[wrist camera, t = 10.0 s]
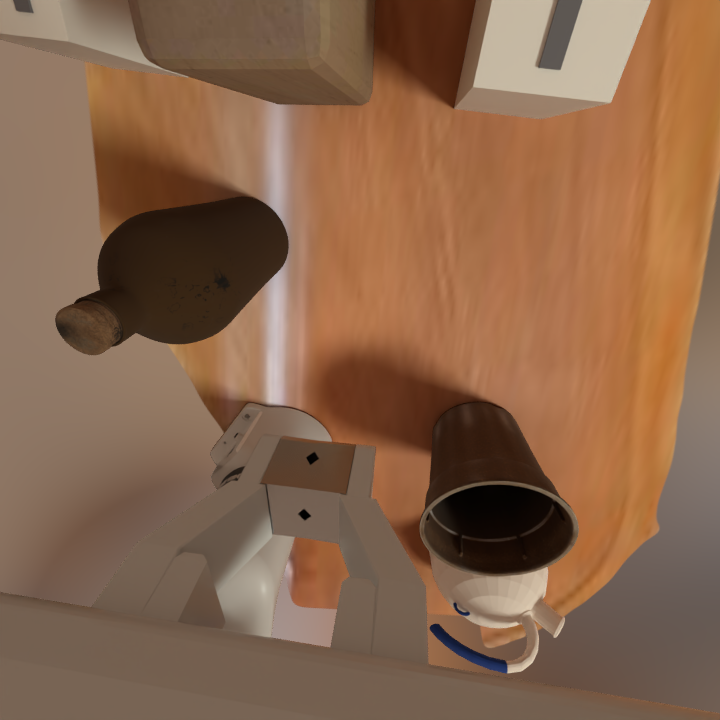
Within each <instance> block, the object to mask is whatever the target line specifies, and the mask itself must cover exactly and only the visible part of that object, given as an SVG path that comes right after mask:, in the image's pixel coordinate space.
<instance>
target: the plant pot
mask: <svg viewBox="0 0 720 720" xmlns="http://www.w3.org/2000/svg"><path fill="white" fill-rule="evenodd" d="M578 532H579V528H578V521H577V518H576V516H575V514H574V512H573V510H572V509H571V508H570V506H569V505H568V504H567V503H566V502H565V501H564V500H563V499H562V498H561V497H560V496H559V494H558V492H557V491H556V489H555V487H554V485H553V484H552V482H551V481H550V480H549V479H548V478H547V477H546V476H545V475H544V473H543V471H542V469H541V467H540V466H539V464H538V462H537V460H536V458H535V457H534V455H533V453H532V451H531V449H530V447H529V445H528V443H527V442H526V440H525V438H524V436H523V434H522V432H521V430H520V428H519V426H518V424H517V422H516V421H515V419H514V418H513V417H512V415H511V414H510V413H509V412H507V411H506V410H505V409H503V408H498V407H495V406H493V405H491V404H489V403H483V402H473V403H466V404H462V405H459V406H456V407H454V408H452V409H450V410H448V411H447V412H445V413H444V414H443V415H442V416H441V417H440V419H439V421H438V422H437V424H436V425H435V426H434V429H433V435H432V455H431V470H430V484H429V489H428V491H427V495H426V502H425V510H424V512H423V514H422V516H421V520H420V536H421V539H422V541H423V543H424V545H425V546H426V548H427V549H428V550H429V551H430V552H431V553H432V554H433V555H434V556H435V557H436V558H437V559H439V560H440V561H442V562H443V563H445V564H447V565H449V566H451V567H453V568H455V569H458V570H460V571H463V572H467V573H471V574H475V575H481V576H493V577H503V576H514V575H523V574H527V573H532V572H536V571H538V570H541V569H544V568H546V567H548V566H550V565H552V564H554V563H556V562H557V561H559V560H560V559H561V558H563V557H564V556H565V555H566V554H567V553H568V552H569V551H570V550H571V549H572V547H573V546H574V544H575V542H576V540H577V537H578Z"/></svg>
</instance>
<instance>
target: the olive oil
mask: <svg viewBox="0 0 720 720" xmlns="http://www.w3.org/2000/svg"><path fill="white" fill-rule="evenodd" d="M287 254H288V236H287V233H286V230H285V227H284V225H283V223H282V221H281V219H280V218H279V217H278V215H277V214H276V213H275V212H274V211H273V210H272V209H271V208H270V207H269V206H267V205H266V204H264V203H263V202H261V201H259V200H256V199H253V198H249V197H236V198H230V199H225V200H220V201H215V202H209V203H203V204H197V205H190V206H184V207H177V208H169V209H162V210H155V211H149V212H145V213H141V214H139V215H136V216H134V217H132V218H130V219H128V220H126V221H125V222H124V223H122V224H121V225H120V226H119V227H117V228H116V229H115V230H114V231H113V232H112V233H111V234H110V235H109V237H108V238H107V239H106V241H105V242H104V244H103V246H102V249H101V251H100V255H99V259H98V280H99V286H100V290H99V291H96V292H94V293H91V294H89V295H87V296H84V297H81V298H79V299H77V300H76V301H75V303H74V304H72V305H69V306H67V307H64V308H63V309H61V310H60V311H59V312H58V313H57V315H56V318H55V321H56V327H57V329H58V331H59V333H60V335H61V336H62V338H63V339H64V340H65V341H66V342H67V343H68V344H69V345H70V346H72V347H73V348H74V349H76V350H78V351H80V352H82V353H84V354H88V355H98V354H101V353H103V352H105V351H106V350H108V349H109V348H110V347H112V346H117V345H119V344H121V343H122V342H123V341H125V340H126V339H128V338H129V337H131V336H132V335H133V334H135V333H138V334H140V335H142V336H144V337H147V338H149V339H152V340H155V341H158V342H162V343H168V344H188V343H193V342H197V341H200V340H204V339H206V338H209V337H211V336H213V335H215V334H217V333H219V332H220V331H221V330H223V329H224V328H225V327H226V326H227V325H228V324H229V323H230V322H231V321H232V320H233V319H234V318H235V317H236V316H237V314H238V313H239V312H240V311H241V310H242V309H243V308H244V307H245V305H246V304H247V303H248V302H249V301H250V300H251V299H252V298H253V297H254V296H255V295H256V294H257V292H258V291H259V290H260V289H261V288H262V287H263V286H264V285H265V284H266V283H267V282H268V281H269V280H270V279H271V278H272V277H273V276H274V275H275V274H276V273H277V272H278V271H279V270H280V269H281V267H282V266H283V264H284V263H285V260H286V258H287Z"/></svg>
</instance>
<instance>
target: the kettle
mask: <svg viewBox="0 0 720 720" xmlns="http://www.w3.org/2000/svg"><path fill="white" fill-rule="evenodd" d="M429 552H430V551H429ZM430 558H431V566H432V573H433V577H434V579H435V582H436V584H437V586H438V588H439V590H440V592H441V593H442V595H443V597H444V598H445V599H446V600H447V601H448V603H449V604H450V605H451V606H452V607H453V608H454V609H455V610H456V611H457V612H458V613H459V614H461V615H462V616H464V617H465V618H467V619H468V620H469V621H471V622H473V623H475V624H478V625H481V626H485V627H490V628H508V627H513V626H516V625H518V624H522V625H523V627H524V629H525V632H526V636H527V648H526V650H525V652H524V654H523V655H522V656H521V657H519V658H517V659H516V660H510V661H505V660H500V659H496V658H491V657H488V656H486V655H483V654H480V653H478V652H476V651H473V650H472V649H470V648H468V647H466V646H464V645H463V644H461V643H460V642H458V641H457V640H455V639H454V638H452V637H451V636H450V635H449V634H448V633H446V632H445V631H444V629H443V628H442V627H441V626H440V625H439V624H433V625H431V626H430V630H431V631H432V633H433V634H434V635H435V636H436V637H437V638H438V639H439V640H440V641H441V642H442V643H443V644H444V645H445V646H447V647H448V648H450V649H451V650H452V651H454V652H455V653H456V654H458V655H459V656H461V657H463V658H465V659H467V660H469V661H471V662H472V663H475V664H477V665H480V666H483V667H485V668H488V669H490V670H494V671H498V672H502V673H513V672H521V671H523V670H524V669H525V668H526V667H528V666H529V665H530V664H532V662H533V660H534V658H535V656H536V654H537V652H538V643H539V636H538V632H537V628H536V624H535V622H534V620H535V621H536V622H537V623H539V624H540V625H541V626H542V627H543V628H545V629H546V630H547V631H549V632H550V633H551V634H552V635H553V637H557V635H558V634H559V633H560V631H561V629H562V627H563V624H564V621H565V618H564V617H562V616H560V615H559V614H558V613H557V612H556V611H555V610H553V609H552V608H551V607H550V606H549V605H548V604H546V603H545V602H544V601H543V598H544V596H545V593H546V586H547V578H548V568H547V567H546V568H544V569H541V570H538V571H536V572H532V573H527V574H523V575H514V576H503V577H493V576H481V575H475V574H471V573H467V572H463V571H460V570H458V569H455V568H453V567H451V566H449V565H447V564H445V563H443V562H442V561H440V560H439V559H437V558H436V557H435V556H434V555H433V554H432V553H431V552H430ZM533 619H534V620H533Z"/></svg>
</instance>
